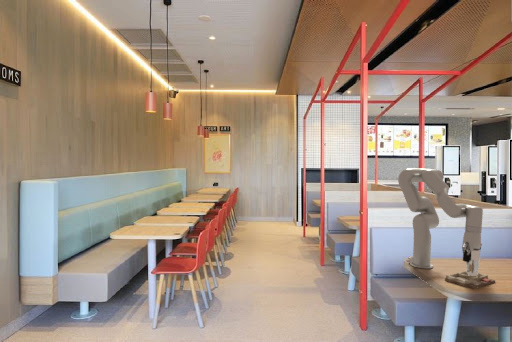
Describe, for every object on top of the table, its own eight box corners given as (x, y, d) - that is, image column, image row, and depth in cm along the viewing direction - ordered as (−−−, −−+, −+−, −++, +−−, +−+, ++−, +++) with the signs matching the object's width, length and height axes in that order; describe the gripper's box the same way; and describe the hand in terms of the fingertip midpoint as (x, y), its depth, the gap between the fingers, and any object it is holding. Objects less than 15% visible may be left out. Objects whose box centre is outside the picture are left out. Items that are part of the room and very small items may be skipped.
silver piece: (482, 278, 192) (483, 250, 192) (470, 278, 192) (471, 250, 192) (473, 274, 199) (474, 247, 199) (461, 274, 199) (462, 247, 198)
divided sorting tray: (444, 280, 193) (444, 275, 192) (466, 274, 203) (466, 269, 203) (473, 288, 180) (474, 283, 180) (495, 282, 190) (495, 277, 190)
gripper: (474, 226, 203) (472, 256, 203) (457, 228, 194) (455, 260, 194) (489, 229, 196) (486, 260, 197) (471, 231, 187) (469, 264, 188)
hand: (471, 260), depth 196 cm, fingers open, 9 cm apart
